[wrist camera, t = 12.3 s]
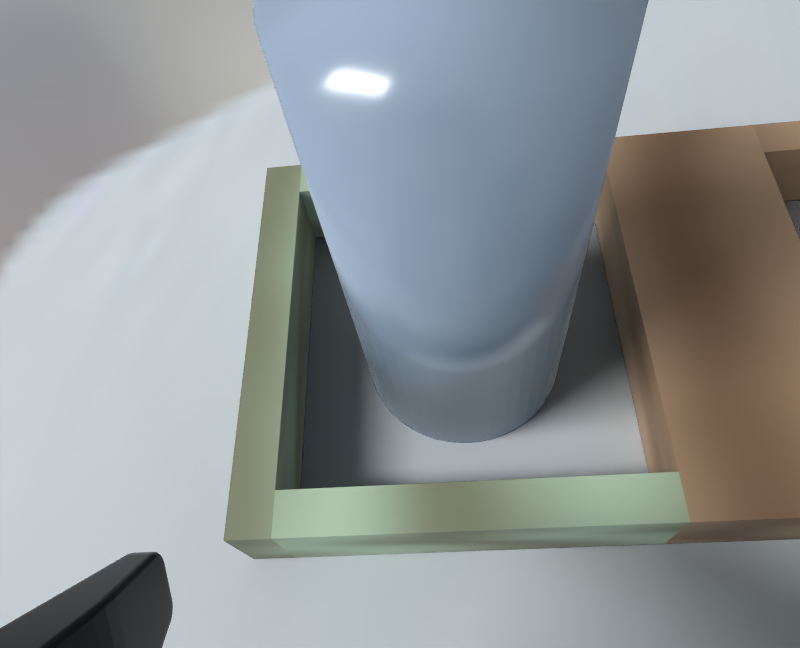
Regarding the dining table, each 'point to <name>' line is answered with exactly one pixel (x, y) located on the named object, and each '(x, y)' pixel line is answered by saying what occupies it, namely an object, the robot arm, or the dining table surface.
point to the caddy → (643, 353)
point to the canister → (455, 183)
